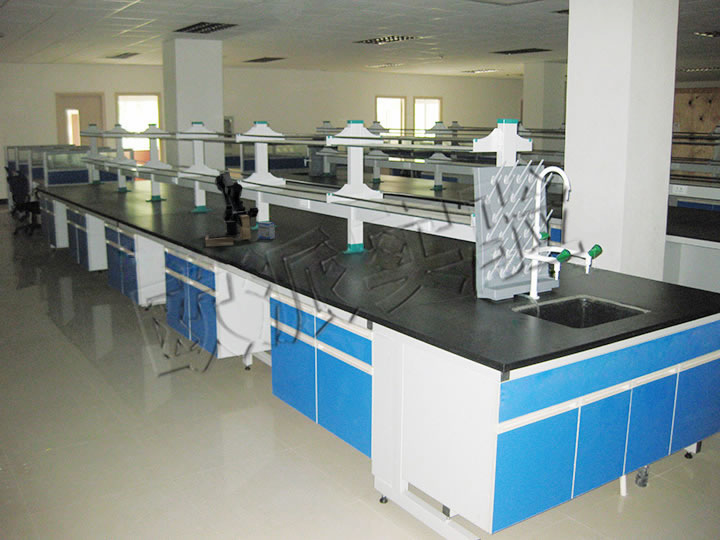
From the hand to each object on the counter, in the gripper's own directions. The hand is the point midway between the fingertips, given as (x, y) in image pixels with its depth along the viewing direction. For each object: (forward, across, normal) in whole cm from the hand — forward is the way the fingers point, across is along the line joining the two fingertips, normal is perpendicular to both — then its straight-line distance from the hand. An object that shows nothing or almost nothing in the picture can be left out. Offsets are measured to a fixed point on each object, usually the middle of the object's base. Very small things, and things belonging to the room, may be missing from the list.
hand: (245, 226), depth 367 cm
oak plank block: (+4, 0, -6) cm, 7 cm away
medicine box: (+7, -11, -5) cm, 14 cm away
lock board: (+5, +15, -6) cm, 17 cm away
